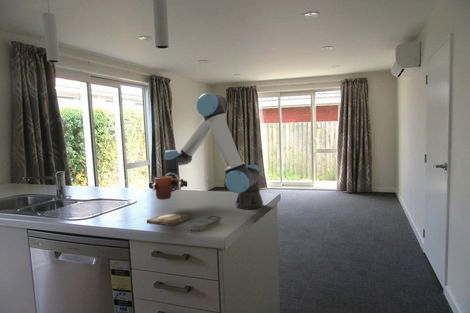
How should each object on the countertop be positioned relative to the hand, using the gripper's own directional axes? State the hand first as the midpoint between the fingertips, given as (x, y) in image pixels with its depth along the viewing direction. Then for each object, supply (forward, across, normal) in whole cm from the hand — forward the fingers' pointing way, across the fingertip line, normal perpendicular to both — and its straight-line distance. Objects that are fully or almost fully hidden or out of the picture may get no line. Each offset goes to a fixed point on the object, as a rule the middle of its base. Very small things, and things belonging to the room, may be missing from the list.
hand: (166, 187), depth 156 cm
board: (-4, 0, -17) cm, 17 cm away
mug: (-4, 0, -6) cm, 7 cm away
